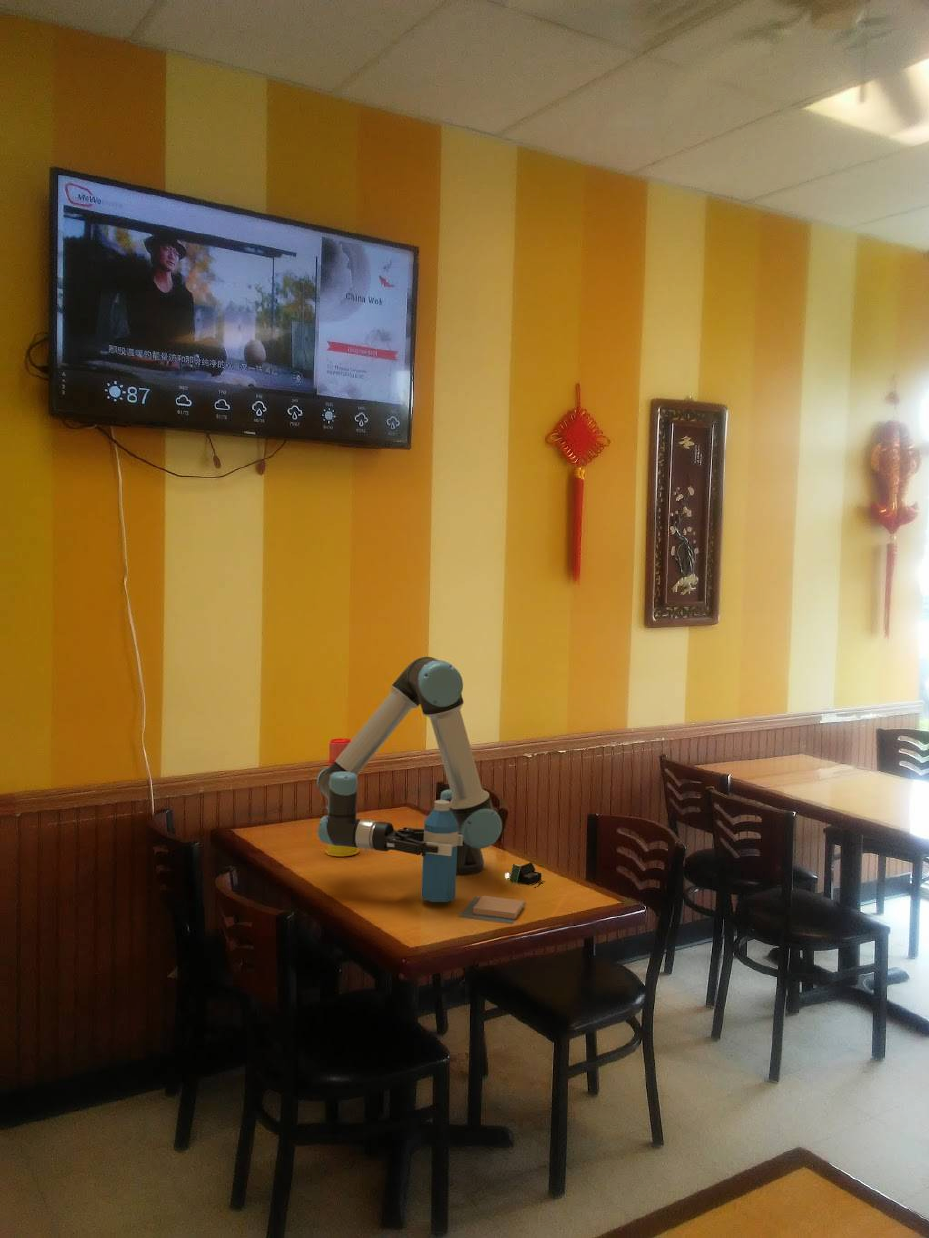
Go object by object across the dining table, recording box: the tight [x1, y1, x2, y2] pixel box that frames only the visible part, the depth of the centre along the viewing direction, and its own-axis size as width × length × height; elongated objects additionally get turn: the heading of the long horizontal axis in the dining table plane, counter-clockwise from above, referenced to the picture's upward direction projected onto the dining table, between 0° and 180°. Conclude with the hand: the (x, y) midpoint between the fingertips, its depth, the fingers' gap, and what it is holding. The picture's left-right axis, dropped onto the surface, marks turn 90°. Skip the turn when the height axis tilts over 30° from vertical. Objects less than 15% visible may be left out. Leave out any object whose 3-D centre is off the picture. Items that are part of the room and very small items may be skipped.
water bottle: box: [420, 799, 458, 903], centre depth 267 cm, size 9×9×25 cm
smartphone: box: [504, 861, 544, 889], centre depth 290 cm, size 15×15×6 cm
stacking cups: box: [325, 737, 360, 857], centre depth 310 cm, size 10×10×35 cm
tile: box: [473, 895, 525, 919], centre depth 263 cm, size 10×2×11 cm
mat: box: [458, 896, 527, 925], centre depth 264 cm, size 16×14×1 cm
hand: (456, 845), depth 265 cm, fingers closed on water bottle, 9 cm apart
